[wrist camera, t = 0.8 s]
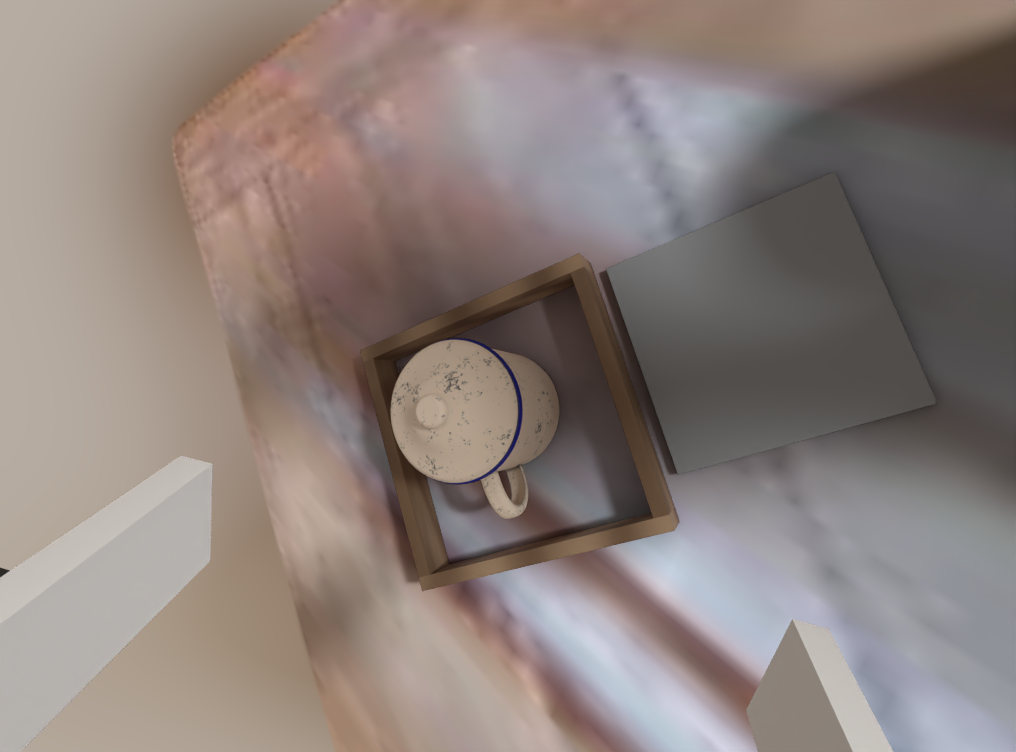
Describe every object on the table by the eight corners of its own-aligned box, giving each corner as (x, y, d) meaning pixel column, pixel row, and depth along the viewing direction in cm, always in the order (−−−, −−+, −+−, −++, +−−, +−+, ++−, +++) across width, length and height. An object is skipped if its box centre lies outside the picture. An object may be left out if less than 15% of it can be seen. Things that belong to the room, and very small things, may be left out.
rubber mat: (833, 175, 35) (834, 171, 34) (934, 403, 32) (937, 403, 32) (607, 270, 40) (606, 268, 40) (678, 473, 38) (678, 474, 37)
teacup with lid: (439, 378, 45) (344, 370, 35) (537, 331, 42) (466, 305, 31) (490, 523, 43) (405, 561, 32) (598, 483, 40) (544, 511, 29)
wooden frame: (590, 263, 41) (579, 253, 38) (679, 521, 38) (674, 530, 35) (382, 353, 48) (359, 350, 45) (442, 579, 44) (422, 591, 41)
